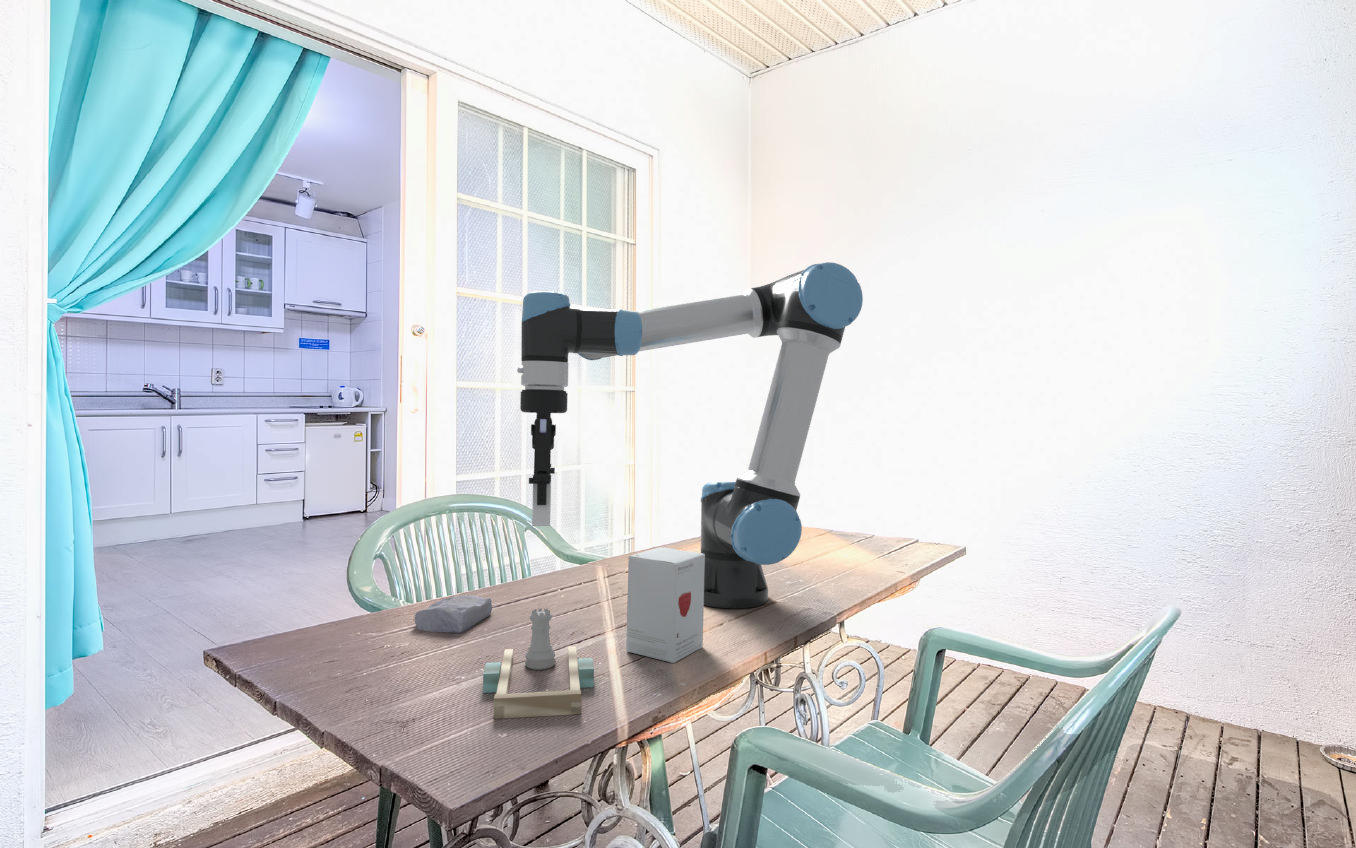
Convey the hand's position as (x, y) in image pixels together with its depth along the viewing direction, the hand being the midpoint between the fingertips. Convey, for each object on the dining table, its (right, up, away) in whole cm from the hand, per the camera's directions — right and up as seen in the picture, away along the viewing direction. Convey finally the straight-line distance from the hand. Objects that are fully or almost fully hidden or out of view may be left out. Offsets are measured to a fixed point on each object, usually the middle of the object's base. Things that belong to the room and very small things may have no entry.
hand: (541, 518), depth 116 cm
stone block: (-17, -19, +7) cm, 26 cm away
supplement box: (+20, -20, -6) cm, 29 cm away
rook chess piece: (+2, -20, -13) cm, 24 cm away
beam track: (+3, -20, -20) cm, 28 cm away
